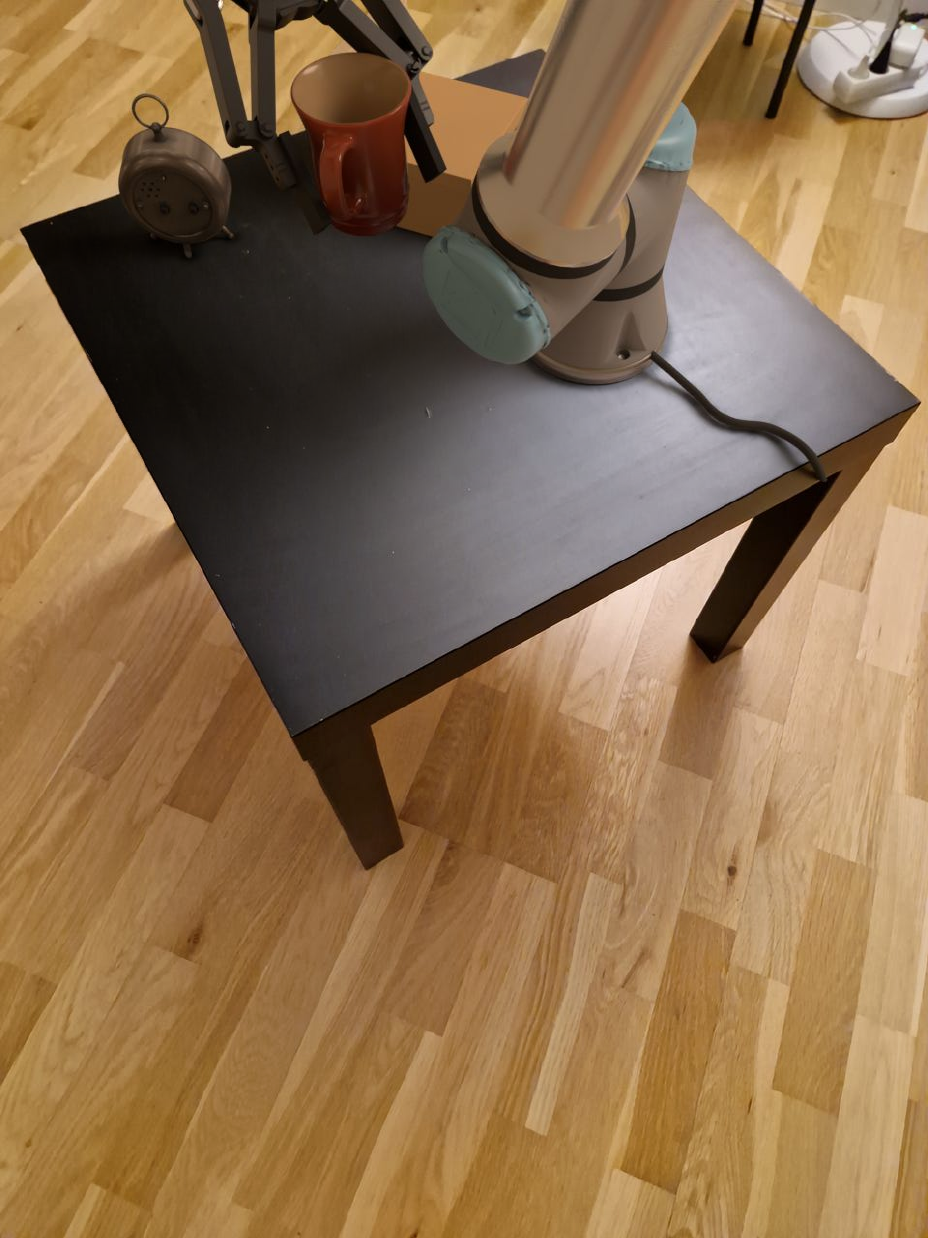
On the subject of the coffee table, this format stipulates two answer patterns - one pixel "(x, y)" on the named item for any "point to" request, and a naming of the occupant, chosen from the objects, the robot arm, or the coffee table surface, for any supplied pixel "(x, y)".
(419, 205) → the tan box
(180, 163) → the alarm clock
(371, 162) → the mug
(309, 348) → the coffee table surface
